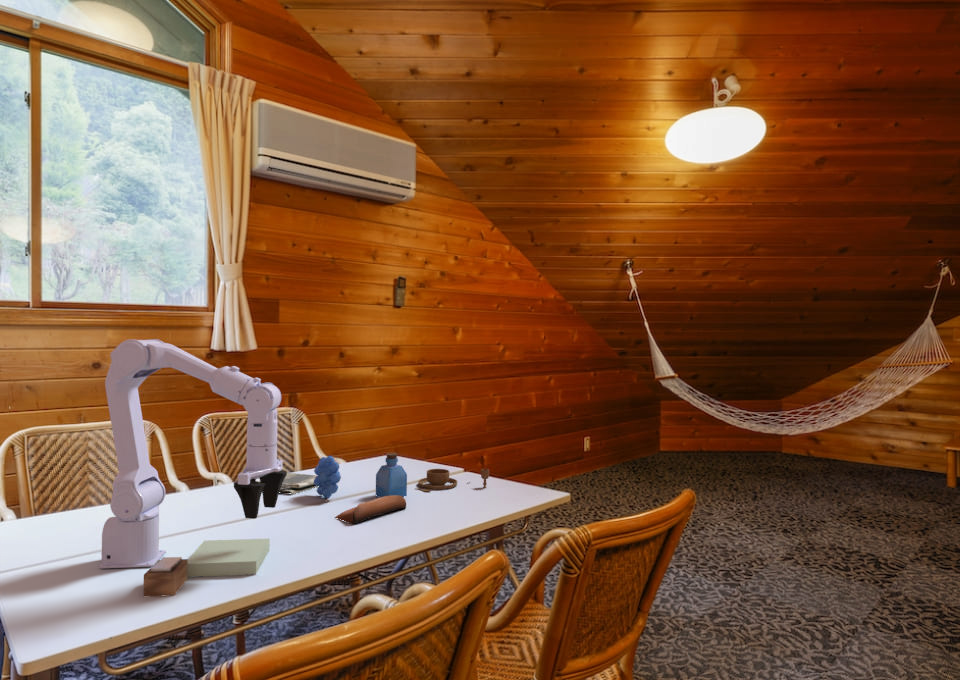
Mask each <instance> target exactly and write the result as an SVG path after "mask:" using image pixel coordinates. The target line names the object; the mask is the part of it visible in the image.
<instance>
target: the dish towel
mask: <svg viewBox="0 0 960 680" xmlns="http://www.w3.org/2000/svg"><path fill="white" fill-rule="evenodd" d="M317 476H318V475H316V474H315V475H313V474H305V473H292V472H287V475H286V477H285V479H284V481H283V483H282V485H281V488H280V491H279V492H280V493H282V494H284V493H291V495H290V496H293V494H294V495H296V493H298V494H300V492H301V493H304V492H307V491H310V490H312V488H313V489H315V487H316V488H318V486H316V485H315V484H314V479H315V478H316V477H317ZM256 481H257V483H261V482H260V480H259V481H258V480H256ZM309 489H310V490H309ZM306 490H307V491H306ZM303 491H304V492H303Z"/></svg>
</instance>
